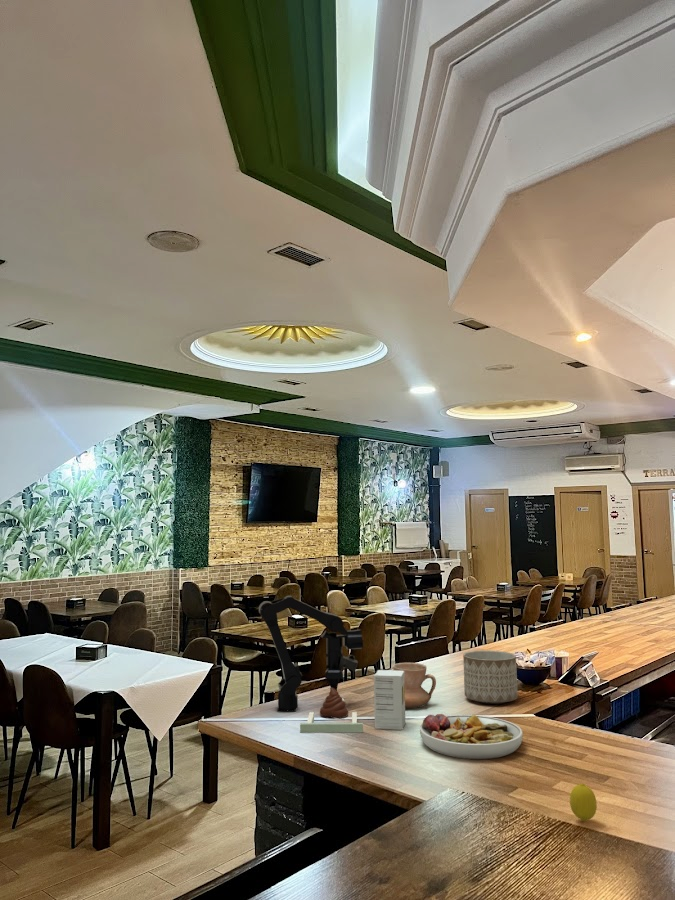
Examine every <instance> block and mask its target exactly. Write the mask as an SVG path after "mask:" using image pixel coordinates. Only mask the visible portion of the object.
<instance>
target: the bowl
mask: <svg viewBox="0 0 675 900" xmlns="http://www.w3.org/2000/svg"><path fill="white" fill-rule="evenodd" d="M419 734H420V738H421V741H422V742H423V743H424V744H425V746H427V748H429V749H430V750H433V751H434V752H435V753H438V754H440V755H441V754H442V755H444V756H447V757H452V758H458V759H465V760H488V759H489V760H490V759H497V758H501V757H502V758H503V757H504V756H508V755H511V754H512V753H514V752H516V750H518V748H519V747H520V746H521V744H522V742H523V729H521V727H520V726H519V725H517V724H515V723H513V722H510V721H508V720H505V719H501V718H497V717H491V716H485V715H484V716H483V715H476V714H455V715H454V714H453V715H452V714H451V715H445V714H443V713H438V714H428V715H427V716H425V717H424V718H423V720H422V723H421V724H420V725H419Z"/></svg>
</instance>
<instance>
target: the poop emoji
mask: <svg viewBox="0 0 675 900" xmlns="http://www.w3.org/2000/svg"><path fill="white" fill-rule="evenodd" d="M329 688H330V690H329V693H328V695H327V696H326V697H325V700H324V702H323V704H322V707H321V708H320V710H319V714H320V716H321V717H323V718H330V717H331V718H333V719H343V718H346V717H348V714H349V709H348V708H347V707H346V701H345V699H344V698H343V697H341V695H340V694H339V692H338V689H337V690H336V689H334V688H331V687H329Z"/></svg>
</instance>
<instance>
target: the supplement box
mask: <svg viewBox="0 0 675 900" xmlns="http://www.w3.org/2000/svg"><path fill="white" fill-rule="evenodd" d="M373 693H374V694H373V696H374V699H373V700H374V707H373V708H374V709H373V710H374V729H375V730H376V729H378V730H381V729H382V730H397V731H398V730H399V731H403V729H404V727H405V724H406V708H405V679H404V671H397V670H391V669H389V670H388V669H386V670H385V669H378V670H376V673H375V674H374V675H373Z"/></svg>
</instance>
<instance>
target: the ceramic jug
mask: <svg viewBox="0 0 675 900" xmlns="http://www.w3.org/2000/svg"><path fill="white" fill-rule="evenodd" d="M392 669H393V670H397V671H404V679H405V709H417V708H421V707H424V706H426V705H427V704H429V703H430V702H431V701H430V700H431V699H432V696H433V695H432V694H433V693H434V691H435V689H436V686H437V680H436V677H435V676H434V675H433V674H431V673H428V674H427V665H426V664H424V663H419V662H399V663H394V664H393V667H392ZM428 679H431V682H432V683H431V688H430V690H429V692H428V691H427V690H425V689H424V688H423V687H422V685H423V682H425V681H426V680H428Z"/></svg>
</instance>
